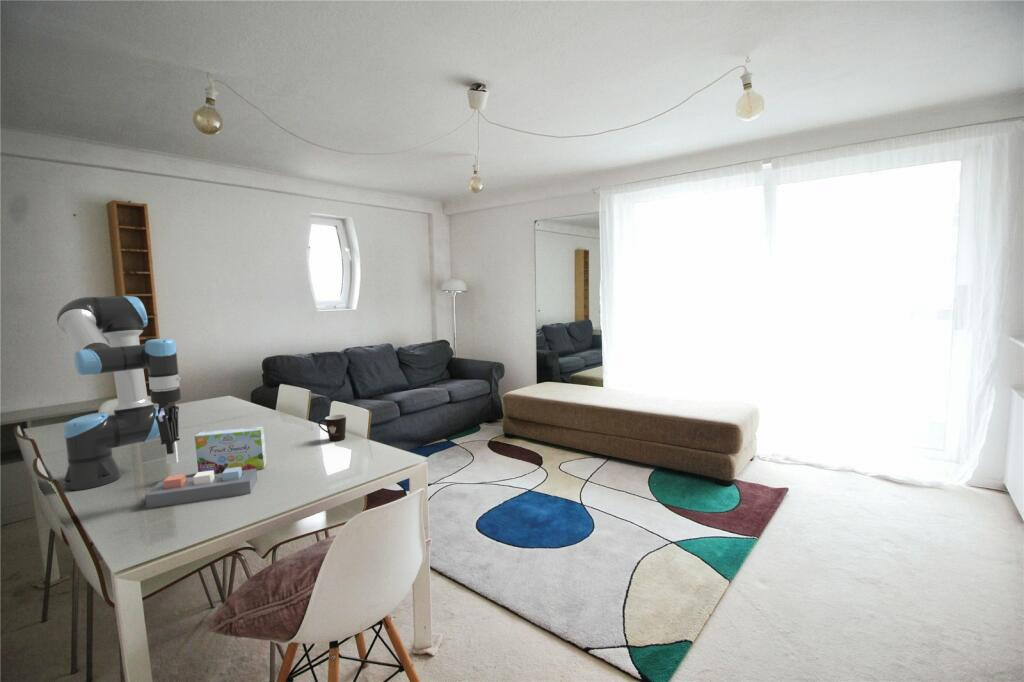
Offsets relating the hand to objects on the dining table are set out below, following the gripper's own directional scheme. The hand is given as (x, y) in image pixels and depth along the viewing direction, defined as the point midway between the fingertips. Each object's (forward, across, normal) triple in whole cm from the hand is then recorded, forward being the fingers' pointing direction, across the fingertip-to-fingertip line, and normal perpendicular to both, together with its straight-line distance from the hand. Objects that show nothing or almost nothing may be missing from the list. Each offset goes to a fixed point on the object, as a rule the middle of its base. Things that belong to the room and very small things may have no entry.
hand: (172, 462), depth 152 cm
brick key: (+9, 0, 0) cm, 9 cm away
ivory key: (+9, 0, -8) cm, 12 cm away
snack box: (+12, +20, -12) cm, 26 cm away
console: (+11, 0, -8) cm, 14 cm away
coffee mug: (+12, +46, -46) cm, 66 cm away
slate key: (+9, 0, -16) cm, 19 cm away
